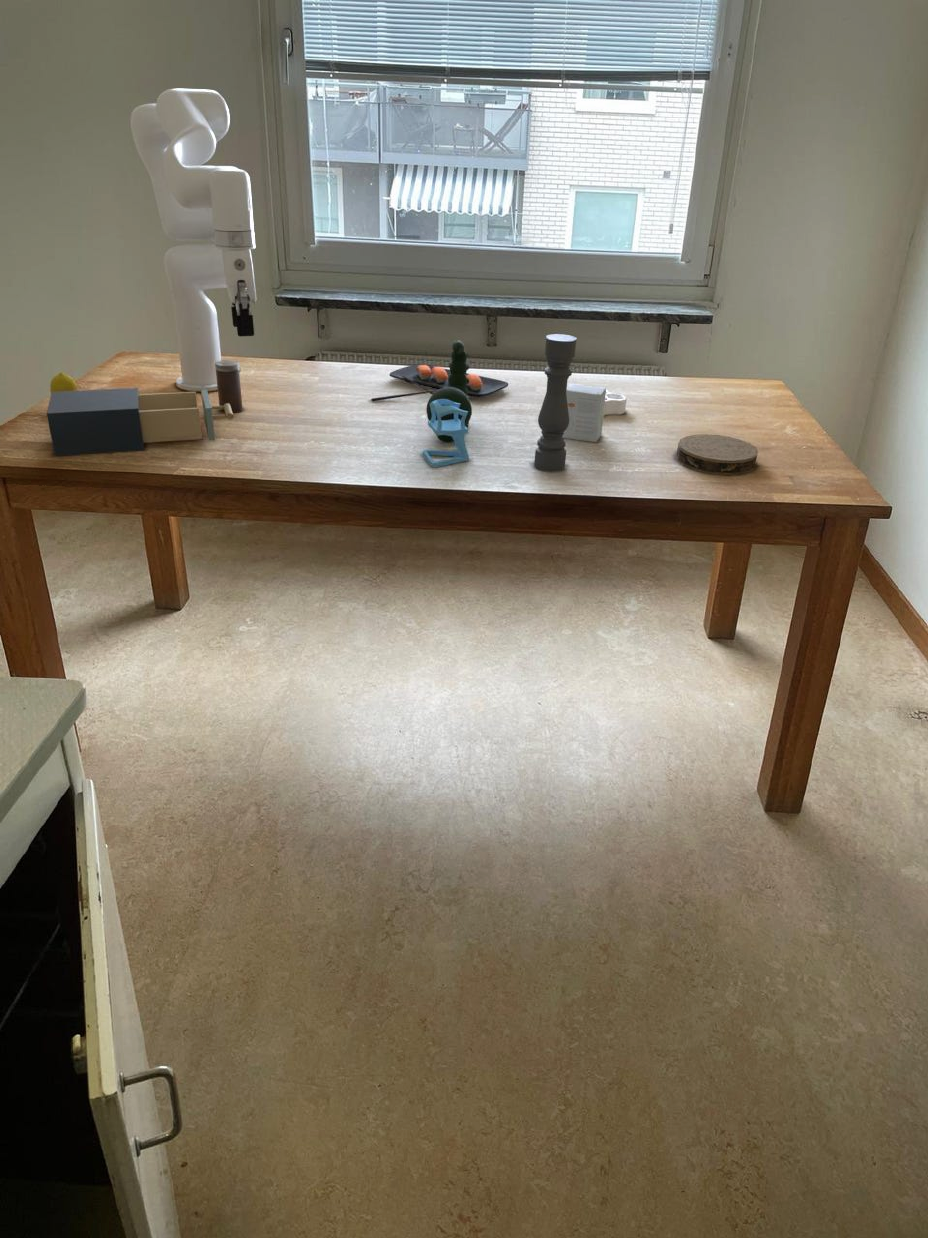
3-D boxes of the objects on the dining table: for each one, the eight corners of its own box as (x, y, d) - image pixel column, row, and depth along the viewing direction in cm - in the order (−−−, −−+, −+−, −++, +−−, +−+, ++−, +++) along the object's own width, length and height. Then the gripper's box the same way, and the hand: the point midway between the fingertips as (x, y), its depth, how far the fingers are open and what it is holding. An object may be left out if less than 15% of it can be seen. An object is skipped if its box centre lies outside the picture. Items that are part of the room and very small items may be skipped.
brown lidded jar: (235, 405, 204) (230, 358, 198) (246, 410, 201) (242, 363, 195) (215, 409, 201) (210, 362, 195) (227, 414, 198) (222, 367, 192)
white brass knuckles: (618, 400, 219) (629, 418, 207) (545, 397, 218) (551, 416, 206) (619, 386, 218) (631, 404, 205) (546, 384, 217) (553, 401, 204)
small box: (601, 435, 195) (607, 387, 190) (596, 443, 191) (602, 394, 186) (566, 430, 198) (570, 382, 192) (560, 437, 193) (564, 389, 188)
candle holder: (531, 460, 180) (542, 333, 168) (562, 460, 181) (574, 334, 168) (536, 471, 175) (547, 341, 162) (567, 471, 175) (581, 341, 163)
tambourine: (707, 478, 175) (710, 464, 174) (661, 452, 188) (663, 438, 186) (771, 469, 181) (774, 455, 179) (722, 444, 193) (725, 431, 192)
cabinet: (143, 427, 188) (137, 387, 184) (144, 450, 177) (138, 408, 172) (59, 432, 184) (51, 391, 179) (54, 455, 172) (46, 413, 168)
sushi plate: (512, 390, 223) (513, 375, 221) (446, 419, 201) (447, 402, 199) (417, 369, 236) (417, 355, 234) (345, 395, 214) (345, 379, 212)
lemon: (85, 406, 199) (79, 370, 195) (73, 413, 194) (67, 376, 190) (61, 404, 199) (54, 368, 195) (49, 411, 195) (42, 375, 190)
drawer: (230, 419, 192) (227, 388, 189) (236, 438, 182) (233, 406, 178) (134, 424, 187) (129, 392, 184) (134, 445, 176) (129, 412, 173)
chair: (472, 464, 177) (475, 405, 171) (431, 467, 174) (433, 407, 168) (461, 451, 183) (463, 393, 177) (422, 454, 181) (423, 395, 175)
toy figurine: (436, 421, 204) (420, 448, 182) (439, 335, 196) (423, 352, 174) (477, 424, 204) (466, 452, 181) (482, 338, 196) (471, 356, 173)
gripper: (260, 244, 167) (267, 338, 175) (250, 235, 181) (257, 322, 189) (218, 245, 165) (228, 340, 173) (211, 235, 179) (221, 323, 187)
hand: (243, 330), depth 181 cm, fingers open, 9 cm apart
